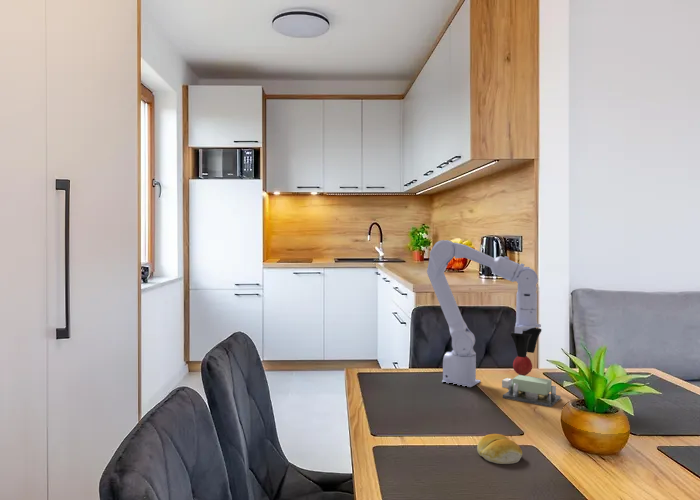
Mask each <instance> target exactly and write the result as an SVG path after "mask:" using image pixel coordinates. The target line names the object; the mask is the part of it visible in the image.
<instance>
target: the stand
mask: <svg viewBox="0 0 700 500" xmlns="http://www.w3.org/2000/svg"><path fill="white" fill-rule="evenodd" d="M509 379H511V378H509V377H506V378H504V379H502V380H501V388H506V389H509Z"/></svg>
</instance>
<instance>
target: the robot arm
mask: <svg viewBox="0 0 700 500" xmlns="http://www.w3.org/2000/svg"><path fill="white" fill-rule="evenodd" d="M453 258H454V259H464V258H465V259H467V260H470V261H473V262H475V263H478V264H480V265H483V266H485V267H488V268H490V270H491V273H492V274H493V275H495V276H498V277H500V278H502V279H504V280H506V281H510V282H511V283H512V282H513V283H514V282H516V283H517V292H516V302H515V303H516V305H515V306H516V308H515V311H516V312H515V314H516V316H515V318H516V319H515V326H514V331H510V336H511V338H512V340H513V342H514V345H515V349H516V356H518V357H524V358H525V357H526V356H527V354H528V353H531V354H534V353H535V351H536V348H537V347H536V345H537V342H538V339H539V337H540V335H541V332H542V330H543V329H542V328H541V327H542V323H541V324H539V323H538V293H537V290H538V286H537V284H538V282H539V277H538V274H537V272H536V270H534V269H533V268H531V267H530V266H525V264H524V263H522V262H521V264H520V263H518V262H516V261H513V260H511V259H510V257H509V256H506V255H504V257H503V256H501V255H500V256H496V257H492V256H490V255H488V254H487V253H484V252H482V251H480V250H477V249H475V248H472V247H470V246H469V245H466V244H462V243H460V242H459V243H458V242H453V241H451V240H449V239H446V240H445V239H442V240H438V241H436V242H435V243H434V245H433V247H432V248H431V250H430V251H429V259H428V265H427V270H426V273H427V277H428V278H429V280H430V284H431V286H432V288H433V291H434V293H435V295H436V298H437V301H438V303H439V306H440V309H441V311H442V313H443V316H444V318H445V320H446V322H447V324H448V329H449V335H450V336H451V348H452V350H451V351H446V352H445V353H444V355H443V357H442V358H443V359H442V380H441V383H443V382H446V383H445V384H449V383H453V384H452V385H454V384H457V385H456V386H460V385H462V386H461V387H465V386H467V388H472V387H474V386H475V385H477V384H479V383H481V382H482V381H481V379H476V378H477V377H476V376H477V374H476V373H477V371H476V370H477V367H476V366H477V363H476V362H477V353H476V351H475V350H474V346H475V344H476V337H475V334H474V333H473V332H472V331H471V330H470V329H469V328H468V325H467V323H466V321H465V320H464V318H463V316H462V314H461V313H462V312H461V311H460V309H459V306H458V303H457V301H456V299H455V296H454V294H453V292H452V289H451V287H450V285H449V282H448V279H447V277H446V274H445V271H446V269H447V267H448V265H449V263H450V262H451V261H452V260H453Z"/></svg>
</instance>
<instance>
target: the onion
mask: <svg viewBox="0 0 700 500" xmlns="http://www.w3.org/2000/svg"><path fill="white" fill-rule="evenodd" d="M512 368H513V370H514V372H515V373H516V374H517V375H523V376H528V374H530V373H531V371H532V370H533V363H532V360H531V359H530V358H529V357H528V356H527V355H526V357H525V358H524V357H518V355H516V357H514V359H513V362H512Z"/></svg>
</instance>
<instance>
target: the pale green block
mask: <svg viewBox="0 0 700 500" xmlns="http://www.w3.org/2000/svg"><path fill="white" fill-rule="evenodd" d="M512 379H513V389H514V383H517V384H519V385H518V390H519V391H525V392H531V393H536V394H542V395H547V394H548V393H549V394H551V386H553V383H552V379H548V378H540V377H534V376H529V375H526V376H523V375H519V374H517V375H516V376H515V377H513V378H512Z"/></svg>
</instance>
